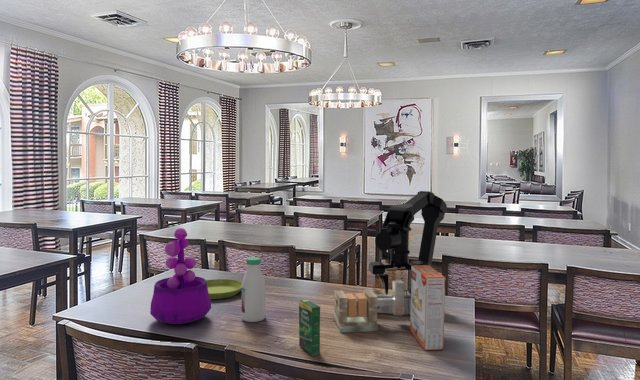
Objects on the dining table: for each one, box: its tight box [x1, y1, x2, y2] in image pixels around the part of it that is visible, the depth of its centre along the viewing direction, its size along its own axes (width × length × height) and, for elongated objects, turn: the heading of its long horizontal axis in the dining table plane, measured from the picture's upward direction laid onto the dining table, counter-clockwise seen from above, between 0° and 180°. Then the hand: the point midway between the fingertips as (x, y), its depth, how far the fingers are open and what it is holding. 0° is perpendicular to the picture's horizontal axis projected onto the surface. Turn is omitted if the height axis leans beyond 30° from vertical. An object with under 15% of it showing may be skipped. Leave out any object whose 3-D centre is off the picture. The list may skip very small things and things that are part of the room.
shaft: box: [347, 279, 405, 316], centre depth 144 cm, size 20×3×10 cm, turn 99°
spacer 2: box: [354, 292, 367, 317], centre depth 143 cm, size 2×6×6 cm, turn 9°
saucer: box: [205, 278, 242, 300], centre depth 175 cm, size 21×21×3 cm
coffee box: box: [366, 287, 411, 316], centre depth 158 cm, size 9×6×16 cm
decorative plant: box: [149, 227, 212, 325], centre depth 144 cm, size 19×18×30 cm
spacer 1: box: [344, 292, 357, 317], centre depth 143 cm, size 2×6×6 cm, turn 9°
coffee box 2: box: [298, 299, 321, 357], centre depth 124 cm, size 8×3×13 cm, turn 28°
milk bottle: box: [241, 256, 266, 323], centre depth 147 cm, size 8×8×20 cm
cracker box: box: [409, 265, 446, 351], centre depth 131 cm, size 14×6×21 cm, turn 5°
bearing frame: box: [332, 289, 380, 334], centre depth 143 cm, size 12×12×10 cm
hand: (398, 293), depth 145 cm, fingers open, 7 cm apart
